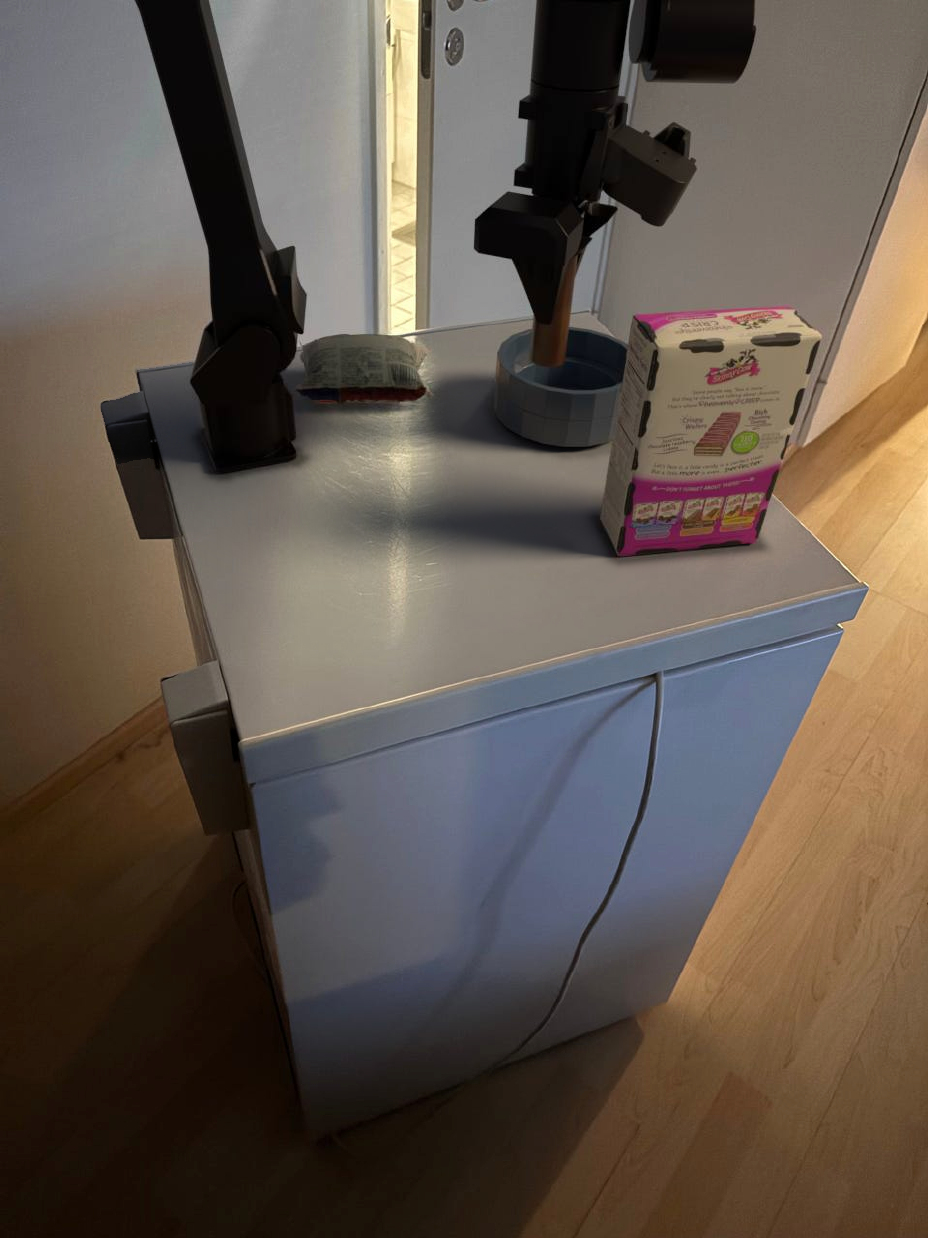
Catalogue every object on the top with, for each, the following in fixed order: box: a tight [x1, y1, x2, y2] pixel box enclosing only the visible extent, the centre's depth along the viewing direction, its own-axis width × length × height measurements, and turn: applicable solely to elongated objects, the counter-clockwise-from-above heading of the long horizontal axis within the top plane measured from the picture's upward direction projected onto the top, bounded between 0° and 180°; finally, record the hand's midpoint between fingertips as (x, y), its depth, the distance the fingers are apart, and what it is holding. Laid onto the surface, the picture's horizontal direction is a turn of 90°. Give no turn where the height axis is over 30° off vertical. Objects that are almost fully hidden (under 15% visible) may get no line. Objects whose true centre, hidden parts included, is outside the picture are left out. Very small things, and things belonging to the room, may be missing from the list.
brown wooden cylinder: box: [530, 255, 578, 367], centre depth 67 cm, size 3×3×9 cm
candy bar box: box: [599, 305, 823, 557], centre depth 61 cm, size 11×5×16 cm, turn 101°
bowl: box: [492, 326, 628, 448], centre depth 77 cm, size 12×12×6 cm
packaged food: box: [294, 333, 434, 405], centre depth 79 cm, size 9×12×5 cm
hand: (550, 315), depth 68 cm, fingers closed on brown wooden cylinder, 3 cm apart
